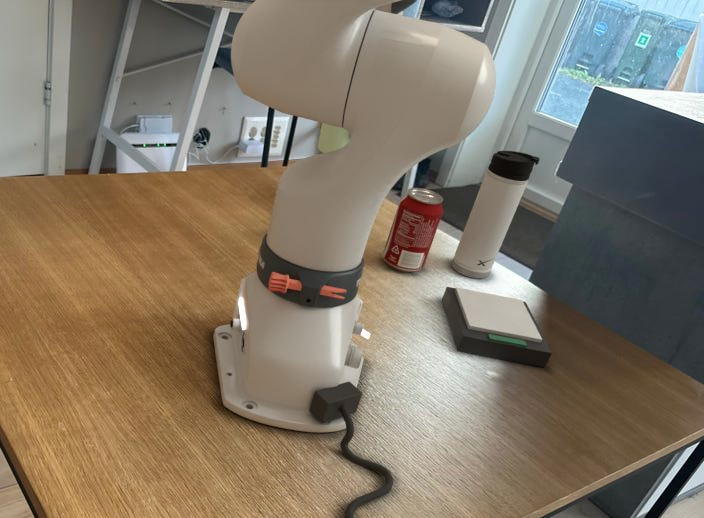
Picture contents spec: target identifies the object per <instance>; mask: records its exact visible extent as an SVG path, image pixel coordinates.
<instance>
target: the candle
mask: <svg viewBox="0 0 704 518" xmlns="http://www.w3.org/2000/svg"><path fill="white" fill-rule="evenodd" d="M319 131H320V132H319V137H318V143H317V149H318V151H320V152H321V153H327V152H331V151H335V150H338V149H340V148H342V147H344V146H345V145H346V144H348V143H349V141H350V138H349V134H350V132H349V131H348V130H345V129H343V128H341V127H337V126H333V125H329V124H325V123H322V126H321V129H320V130H319Z"/></svg>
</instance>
